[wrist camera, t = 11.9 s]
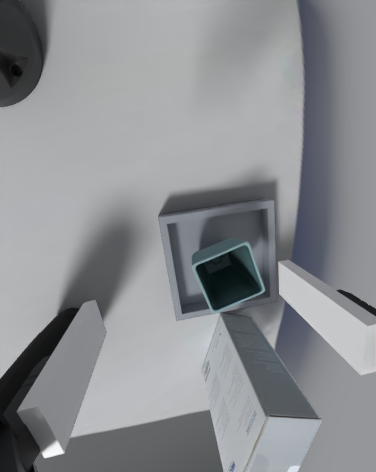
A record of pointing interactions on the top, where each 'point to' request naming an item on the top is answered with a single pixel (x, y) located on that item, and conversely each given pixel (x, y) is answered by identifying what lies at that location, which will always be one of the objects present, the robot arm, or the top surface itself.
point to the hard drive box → (255, 401)
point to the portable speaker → (34, 356)
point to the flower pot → (227, 273)
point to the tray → (211, 232)
